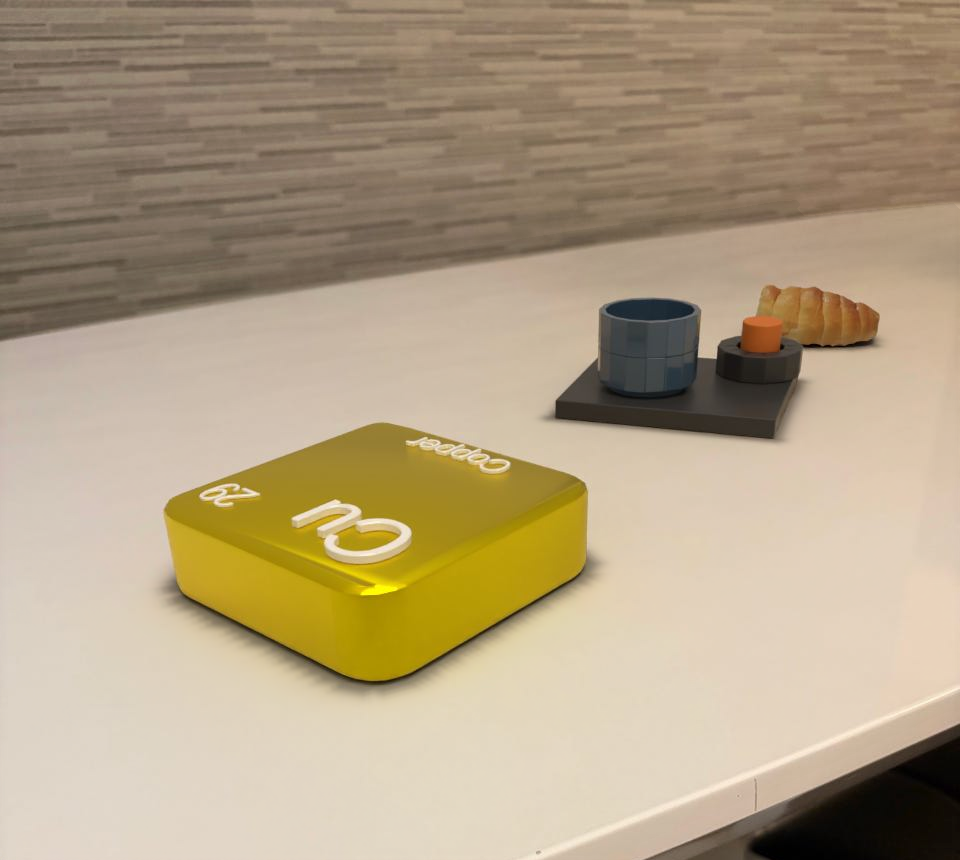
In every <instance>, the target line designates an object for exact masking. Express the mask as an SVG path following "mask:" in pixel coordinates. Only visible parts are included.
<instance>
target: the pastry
mask: <svg viewBox="0 0 960 860" xmlns="http://www.w3.org/2000/svg"><path fill="white" fill-rule="evenodd" d="M880 315H881V314H880V313H879V312H878V311H876V310H875V309H873V308H872V307H871V306H869V305H867V304H866V303H864V302H861V301H860V302H854V301H852V300H851V299H849V298H847V297H845V296H844V295H842V294H841V295H840V294H839V293H834V292H832V291H824V290H821V289H820V288H819V287H817V286H810V287H800V286H793V285H790V286H788V287H786V288H778V287H777V286H776V285H774V284H766V285H765V286H764V287H763V288H762V290H761V292H760V298H759V301H758V305H757V311H756V312H755V316H769V317H775V318H778V319H781V320H782V321H783V326H782V335H781V337H783V338H787V339H791V340H795V341H797V342H798V343H800V344H801V345H807V346H808V345H811V344H815V345H816V344H817V345H820V346H821V347H822V348H823V347H824V346H828V345H829V346H831V347H834V346H843V347H845V346H847V345H850V344H855V343H857V342H869V341H870V340H871V339H874V338H875V337H876V336H877V334H878V332H879V331H878V330H879V324H880V323H879V322H880Z"/></svg>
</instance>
